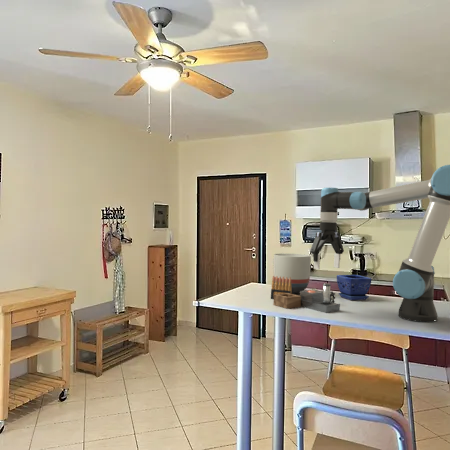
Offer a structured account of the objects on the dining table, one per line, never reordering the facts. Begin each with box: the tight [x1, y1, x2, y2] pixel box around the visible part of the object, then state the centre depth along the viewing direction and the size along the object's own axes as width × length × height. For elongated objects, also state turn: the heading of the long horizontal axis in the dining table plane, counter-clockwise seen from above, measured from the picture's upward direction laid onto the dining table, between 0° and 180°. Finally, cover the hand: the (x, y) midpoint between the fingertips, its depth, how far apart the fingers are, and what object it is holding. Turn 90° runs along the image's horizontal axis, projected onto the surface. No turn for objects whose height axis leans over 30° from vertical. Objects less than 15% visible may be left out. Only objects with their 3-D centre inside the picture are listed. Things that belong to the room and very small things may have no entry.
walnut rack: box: [272, 293, 301, 310], centre depth 191 cm, size 9×9×5 cm
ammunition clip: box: [270, 275, 292, 300], centre depth 206 cm, size 11×2×12 cm, turn 65°
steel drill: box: [322, 282, 331, 305], centre depth 184 cm, size 3×3×12 cm
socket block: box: [299, 289, 341, 314], centre depth 188 cm, size 18×9×7 cm, turn 35°
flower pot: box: [336, 274, 372, 301], centre depth 214 cm, size 13×13×12 cm
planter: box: [273, 252, 312, 295], centre depth 225 cm, size 20×20×21 cm
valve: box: [309, 288, 336, 303], centre depth 200 cm, size 7×7×12 cm
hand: (326, 268), depth 184 cm, fingers open, 13 cm apart
